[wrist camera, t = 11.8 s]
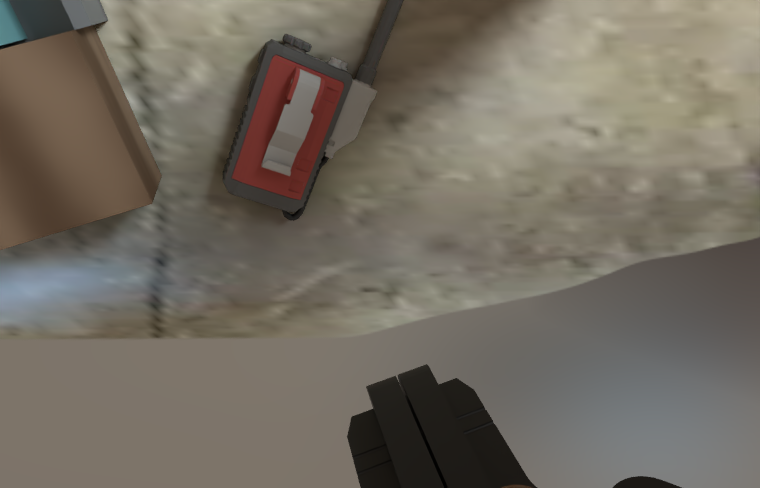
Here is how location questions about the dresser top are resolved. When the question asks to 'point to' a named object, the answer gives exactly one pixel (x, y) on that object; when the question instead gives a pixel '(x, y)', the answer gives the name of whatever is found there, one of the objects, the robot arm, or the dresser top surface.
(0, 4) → the block
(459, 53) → the dresser top surface
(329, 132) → the walkie-talkie
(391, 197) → the dresser top surface
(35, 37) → the box
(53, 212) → the brown box
